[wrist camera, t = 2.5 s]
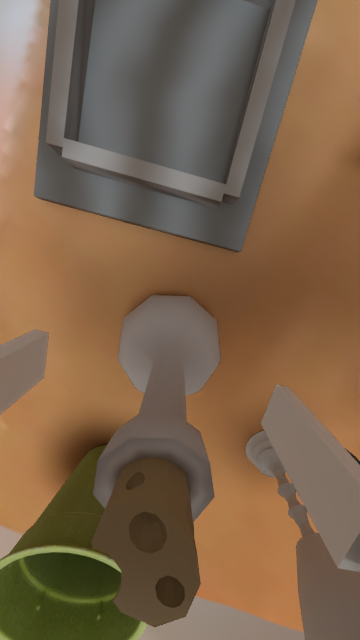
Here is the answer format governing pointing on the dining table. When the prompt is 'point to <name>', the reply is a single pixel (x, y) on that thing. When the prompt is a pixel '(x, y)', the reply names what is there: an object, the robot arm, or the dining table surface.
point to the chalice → (313, 562)
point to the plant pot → (64, 572)
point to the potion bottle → (158, 461)
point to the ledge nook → (166, 109)
